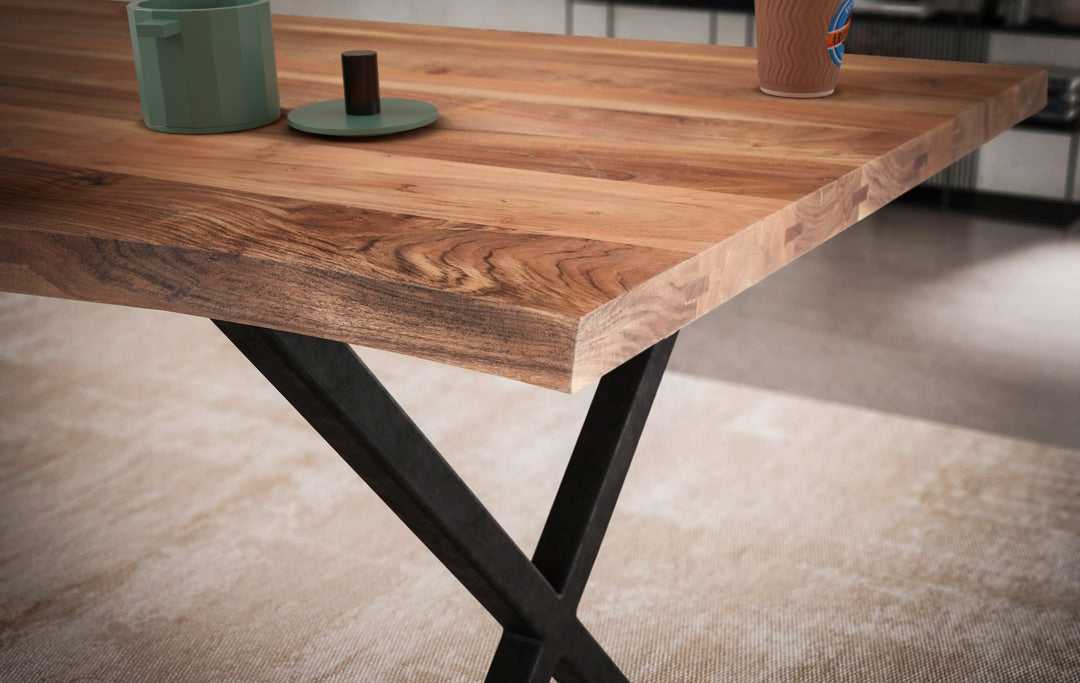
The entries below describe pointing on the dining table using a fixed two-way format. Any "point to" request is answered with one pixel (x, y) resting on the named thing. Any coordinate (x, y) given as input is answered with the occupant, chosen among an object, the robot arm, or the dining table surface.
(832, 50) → the coffee cup
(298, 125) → the lid
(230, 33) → the pot
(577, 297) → the dining table surface
